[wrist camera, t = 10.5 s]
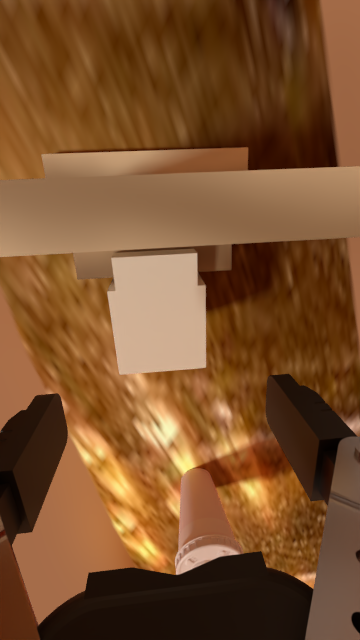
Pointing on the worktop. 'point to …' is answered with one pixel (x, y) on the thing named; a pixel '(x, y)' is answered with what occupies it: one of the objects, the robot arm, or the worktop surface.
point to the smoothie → (202, 523)
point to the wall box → (158, 311)
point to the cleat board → (171, 206)
